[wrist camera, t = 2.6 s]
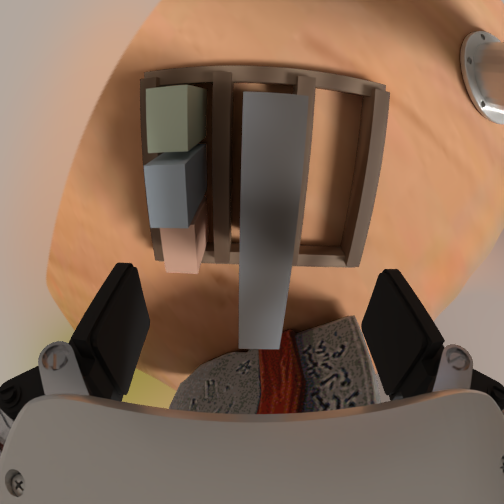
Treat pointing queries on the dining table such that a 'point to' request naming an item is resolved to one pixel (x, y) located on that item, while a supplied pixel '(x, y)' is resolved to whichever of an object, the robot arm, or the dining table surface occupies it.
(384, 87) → the walnut rack
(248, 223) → the charcoal panel
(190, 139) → the sage offcut board
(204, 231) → the terracotta offcut board
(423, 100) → the dining table surface
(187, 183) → the slate offcut board
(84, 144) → the dining table surface
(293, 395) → the decorative stone tablet
